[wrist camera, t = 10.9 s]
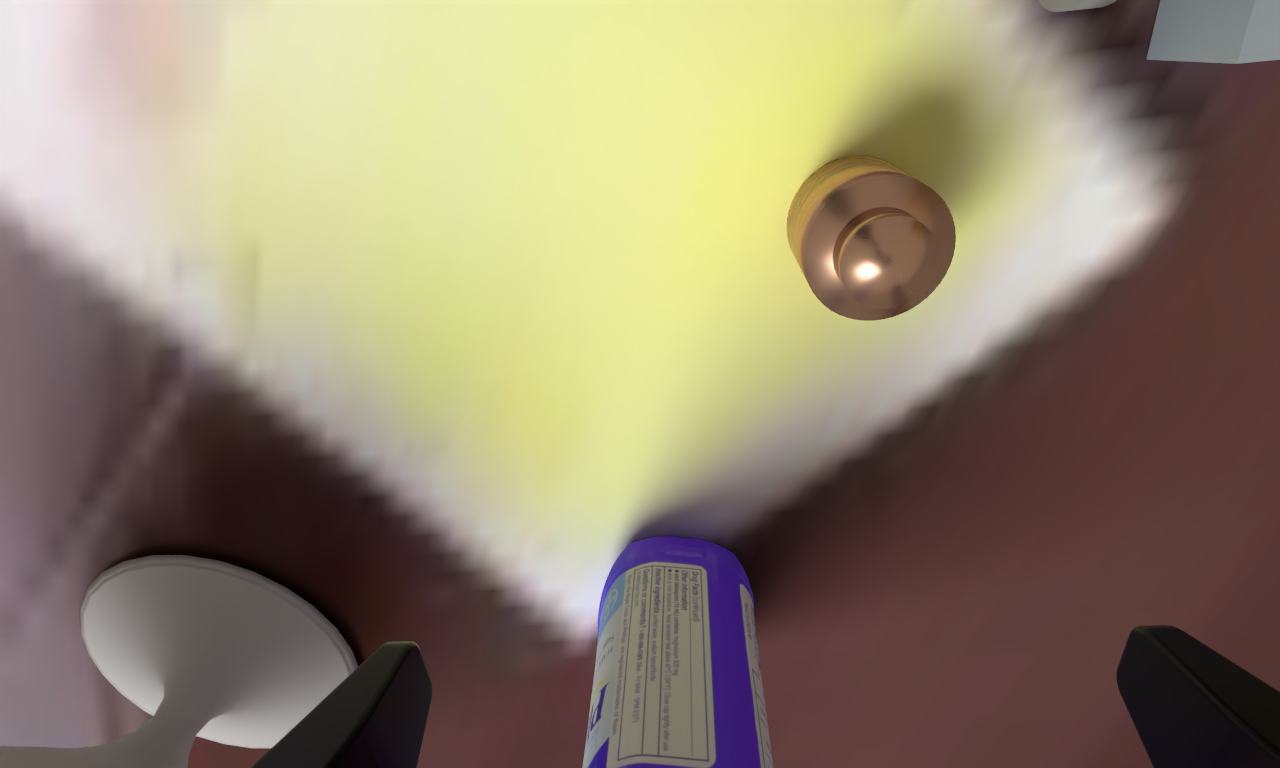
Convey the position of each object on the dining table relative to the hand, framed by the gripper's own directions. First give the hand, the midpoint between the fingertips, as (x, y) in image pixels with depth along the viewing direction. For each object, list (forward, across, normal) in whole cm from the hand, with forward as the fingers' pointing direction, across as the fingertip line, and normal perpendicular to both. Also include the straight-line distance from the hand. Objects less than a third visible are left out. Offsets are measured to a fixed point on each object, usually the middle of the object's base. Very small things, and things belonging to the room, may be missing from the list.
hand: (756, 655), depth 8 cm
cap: (+13, -4, -2) cm, 14 cm away
